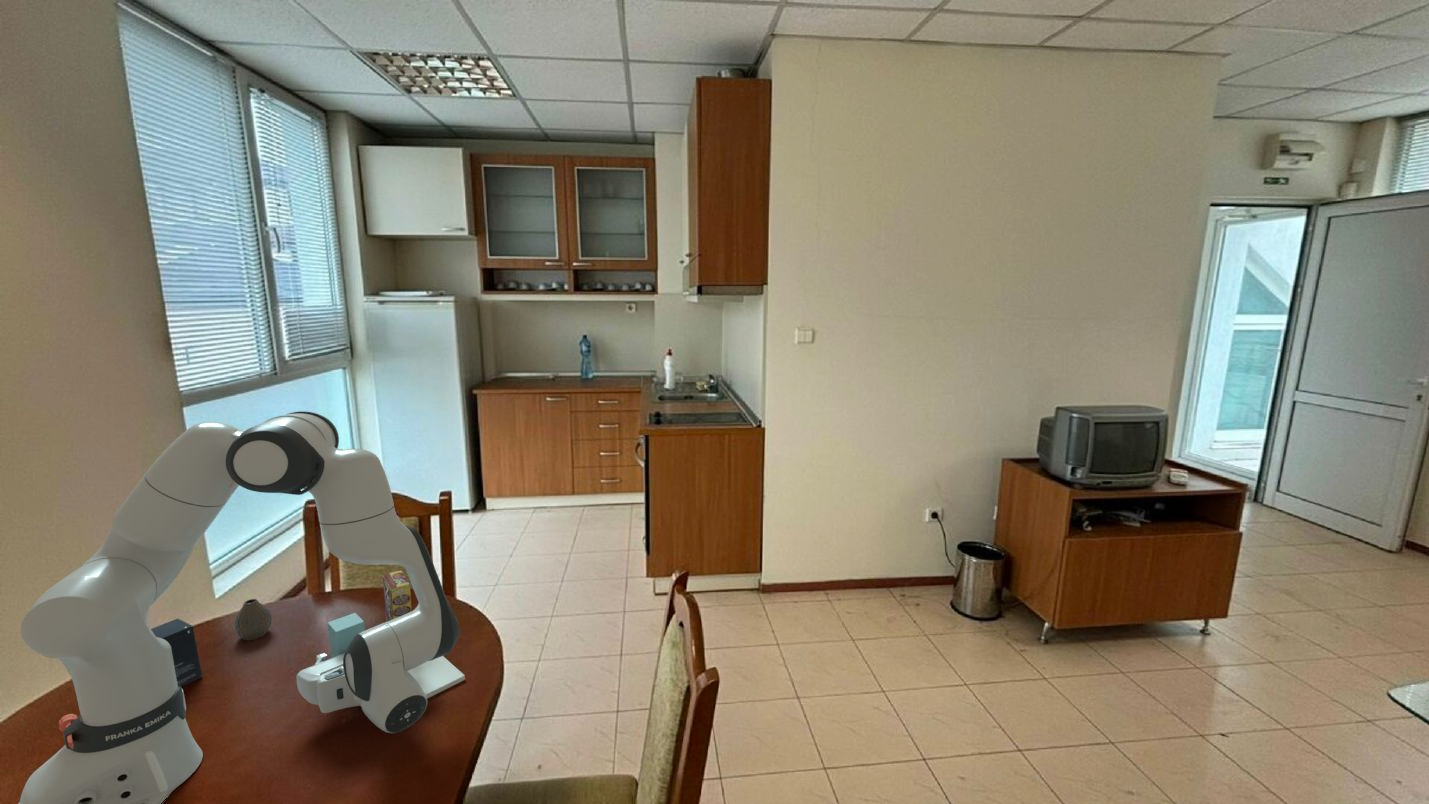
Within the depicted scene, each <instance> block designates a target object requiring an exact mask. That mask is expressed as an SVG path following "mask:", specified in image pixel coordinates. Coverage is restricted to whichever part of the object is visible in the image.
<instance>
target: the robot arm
mask: <svg viewBox="0 0 1429 804" xmlns="http://www.w3.org/2000/svg"><path fill="white" fill-rule="evenodd" d="M339 442H340V437H339V433H338V430H337V427H336V425H334V423H333V422H332V420H330V419H329V418H327V417H326V416H324V415H321V414H319V413H317V412H312V411H294V412H290V413H287V414H283V415H278V416H274V417H272V418H269V419H267V420H265V421H263V422H261V423H259V424H257V425H254V426H252V427H249V428H247V429H245V430H243V429H239V428H237V427H236V426H235V427H234V426H232V425H229V424H226V423H221V422H217V421H216V422H215V421H205V422H204V421H203V422H199V423H197V424H194V425H192V426H190V427H189V428H188V429H186V430H185V431H184V432H183V433H182V434H180V435H179V436H178V437H177V438H176V439H175V440H174V441H172V442H171V443H170V444H169V445H168V447H167V448H165V450H164V451H162V453H161V454H160V455H159V456H158V457H157V458H156V459H155V461H153V463H152V464H151V465H150V466H149V468H148V469H147V470H146V472H145V473H144V475H143V476H142V477H141V479H140V480H139V481H138V482H137V484H136V485H135V486H134V488H133V489H132V490H131V492H130V493H129V494H128V496H127V497H126V498H125V500H124V501H123V503H122V504H121V506H120V507H119V508H118V509H117V511H116V512H115V513H114V515H113V517H112V525H111V527H110V530H109V532H108V534H107V536H106V537H105V539H104V541H103V543H102V544H101V545H100V547H99V548H98V550H97V551H95V553H94V554H92V556H91V557H90V558H88V559H87V560H86V561H85V562H84V563H83V564H82V565H80V566H79V567H77V568H76V569H75V570H74V571H72V572H71V573H69V574H68V575H66V576H65V577H63V578H62V579H61V580H59V581H58V582H57V583H55V584H53V585H52V586H51V587H49V588H48V589H47V590H46V591H45V590H44V592H43V593H42V594H41V596H40V597H39V598H38V599H37V600H36V602H35V603H34V604H33V605H32V606H31V607H30V609H29V610H28V611H27V613H26V614H25V616H24V617H23V619H22V621H21V624H20V636H21V639H22V641H23V643H24V644H25V645H26V646H27V647H28V649H30V651H33V652H34V653H35V654H37V655H40V656H43V657H46V658H51V659H57V660H59V662H60V663H61V664H62V665H63V666H64V668H65V669H66V670H67V672H68V674H69V676H70V679H71V681H72V683H73V687H74V691H75V695H76V700H77V703H78V705H77V706H78V708H79V713H80V715H79V716H78V715H77V714H74V713H68V714H66V715H63V716H62V717H60V719H59V721H58V726H59V727H58V729H59V731H60V732H63V739H64V745H63V747H61V748H60V749H59V750H58V751H57V752H56V753H55V754H53V755H52V756H51V757H50V758H49V759H47V761H45V762H44V763H43V764H41V766H40V767H38V768H37V769H36V770H35V771H34V772H33V773H32V774H31V775H30V776H29V778H28V779H27V781H26V782H25V785H24V787H23V789H22V793H21V794H20V799H19V802H18V803H17V804H161V803H162V802H163V801H164V800H165V799H166V798H167V799H168V797H169V796H170V794H172V792H173V791H174V790H175V789H176V788H178V787H179V786H180V785H181V784H183V783H184V782H186V780H188V779H189V778H190V777H191V776H192V774H193V773H194V772H196V770H197V769H198V768H199V766H200V764H201V763H202V761H203V757H204V756H203V755H204V754H203V753H204V752H203V750H202V749H201V747H200V746H199V745H198V743H197V741H196V740H195V738H194V737H193V734H192V732H191V730H190V728H189V724H188V721H187V720H186V715H187V704H186V698H185V694H184V690H183V688H182V687H181V685H180V683H179V682H177V679H176V673H175V667H174V661H173V655H172V650H171V646H170V644H169V643H168V642H167V641H166V640H164V639H162V638H159V637H156V636H155V635H154V633H153V632H152V630H151V629H152V627H150V624H149V619H148V617H149V611H150V608H151V607H152V606H153V604H155V603H156V602H157V601H158V600H159V599H160V598H161V597H162V596H163V595H164V594H165V593H166V592H167V591H168V590H169V589H170V588H171V586H172V584H173V583H174V582H175V580H176V579H177V577H178V575H179V574H180V573H181V571H182V569H183V568H184V566H185V564H186V563H187V561H188V560H189V559H190V556H191V554H192V553H193V551H194V549H195V547H196V546H197V544H198V542H199V541H200V540H201V538H202V537H203V536H204V534H205V533H206V532H207V530H208V529H209V527H210V526H211V525H212V523H213V522H215V521H214V520H215V519H216V518H217V516H218V515H219V514H220V512H221V511H222V509H223V508H224V507H225V506H226V504H227V503H228V501H229V500H230V499H231V497H232V496H233V494H234V493H235V491H236V490H237V489H238V488H239V487H242V488H243V489H246V490H249V491H252V492H255V493H256V492H257V493H264V494H266V493H268V494H286V495H295V496H296V495H297V496H300V495H301V496H302V495H304V494H306V493H310V494H311V496H312V497H313V499H314V502H315V506H316V510H317V516H318V521H319V527H320V532H321V535H322V537H323V538H322V539H323V541H324V544H325V547H326V548H327V550H328V551H329V552H330V554H332V555H333V556H334V557H336V558H337V559H339V560H342V561H345V562H346V563H351V564H357V565H363V566H364V565H366V566H370V565H371V566H375V565H393V566H400V567H402V568H404V570H405V571H406V573H407V576H408V580H409V581H410V582H409V583H411V584H410V585H411V586H412V587H411V588H412V589H413V592H414V594H415V597H416V599H417V601H418V602H417V603H418V604H417V606H416V607H415V608H414V609H413V610H412V612H409V613H407V614H404V615H402V616H400V617H397V618H395V619H393V620H390V621H388V622H386V621H385V622H382V623H380V624H377V625H375V626H373V627H371V628H368V629H365V631H363V632H361V633H359V634H356V635H355V636H354V638H353V639H352V640H351V642H350V644H349V646H348V648H347V650H346V652H345V653H344V654H341V655H338V656H336V657H333V658H332V657H331V658H328V654H326V652H323V653H319V654H317V655H316V656H315V659H316V661H315V663H314V664H313V665H312V666H309V667H305V668H304V669H301V670H300V671H299V672H297V674H296V685H297V690H298V692H299V693H300V695H301V696H302V697H303V698H304V699H305V700H306V701H307V702H308V703H310V704H312V705H317V706H318V707H319V710H320V712H321V713H322V714H328V713H331V712H335V711H339V710H343V709H347V708H352V707H361V710H362V712H363V713H364V715H365V716H366V717H367V718H368V720H369V721H371V723H373V724H374V726H376V727H377V728H379V730H381V731H384V732H385V733H389V734H397V733H401V732H403V731H405V730H407V729H408V728H410V727H412V726H413V725H415V724H416V723H417V722H418V721H419V720H420V719H421V718H422V716H423V715H424V713H425V712H426V709H427V707H428V698H426V695H425V693H424V691H423V690H422V688H421V686H420V685H419V683H418V682H417V681H416V680H415V678H414V677H413V676H412V675H411V674H410V673H409V672H408V671H409V670H411V669H413V668H415V667H417V666H419V665H421V664H423V663H425V662H427V661H431V660H434V659H436V658H439V657H441V656H444V657H445V656H446V655H448V654H450V653H451V652H452V650H453V648H454V646H455V645H456V644H457V641H458V639H459V637H460V633H461V628H460V625H459V621H458V619H457V616H456V614H455V613H454V610H453V608H452V606H451V605H450V603H449V600H448V597H447V596H446V593H445V590H444V588H443V586H442V583H441V580H440V577H439V575H438V572H437V570H436V568H435V567H436V566H435V564H434V561H433V560H432V556H431V555H430V552H429V550H428V548H427V546H426V543H425V540H424V539H423V537H422V536H421V534H420V532H419V531H418V530H417V529H415V527H413V526H408V525H407V526H406V525H405V524H404V523H402V521H401V520H400V518H399V516H398V514H397V513H396V510H395V509H396V508H395V505H394V499H393V494H392V490H391V487H390V484H389V481H388V476H387V474H386V472H385V469H384V466H383V465H382V462H381V460H380V458H379V457H378V456H377V454H375V453H373V452H372V451H370V450H366V449H363V448H362V449H361V448H347V449H342V448H339V444H340V443H339ZM167 799H166V800H167ZM166 800H165V801H166ZM165 801H164V802H165ZM164 802H163V803H164ZM163 803H162V804H163Z"/></svg>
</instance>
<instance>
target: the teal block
mask: <svg viewBox="0 0 1429 804" xmlns="http://www.w3.org/2000/svg"><path fill="white" fill-rule="evenodd" d="M327 628H328V635H329V636H328V637H329V644H330V645H329V646H330V654H331V658H333V657H336V656H338V655H341V654H344V653H345V652H346V650H347V648H348V646H349V644H350V642H351V640H352V639H353V638H354V636H355V635H356V634H359V633H361V632H363V631H365V630H366V627H365V621H364V620H363V618H361V617H360V616H359V615H358V614H357V613H356V612H353V613H350V614H348V615H345V616H342V617H340V618H337V619H334V620H331V621H328V622H327Z"/></svg>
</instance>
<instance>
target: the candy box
mask: <svg viewBox="0 0 1429 804" xmlns="http://www.w3.org/2000/svg"><path fill="white" fill-rule="evenodd" d="M382 580H383V581H382V582H383V595H384V607H385V608H384V610H385V622H388V621H390V620H393V619H395V618H397V617H400V616H402V615H404V614H407V613H409V612H412V611H413V610H412V598H411V597H412V596H411V584H410V582H409V579H407V577H406V575H405V574H404V572H403V571H402V570H396V571H392V572H389V573H386V574H383V575H382Z"/></svg>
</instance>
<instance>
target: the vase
mask: <svg viewBox="0 0 1429 804" xmlns="http://www.w3.org/2000/svg"><path fill="white" fill-rule="evenodd" d="M272 623H273V617H272V613H271V611H270V608H269V607H267V606H266V605H264V604H263V603H262V602H260V601H259V600H258V599H257V598H251V599H246V600H245V601H244V602H243V604H242V607H241V608H240V609H239V610H238V612H237V613H236V615H235V617H234V624H233V627H234V631H235V633H236V635H237V636H238V637H239V638H241V640H245V641H253V640H257V639H260V638H262V637H264V636H265V635H266V634H267V633H268V632H269V631H270V628H271V626H272Z"/></svg>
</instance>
